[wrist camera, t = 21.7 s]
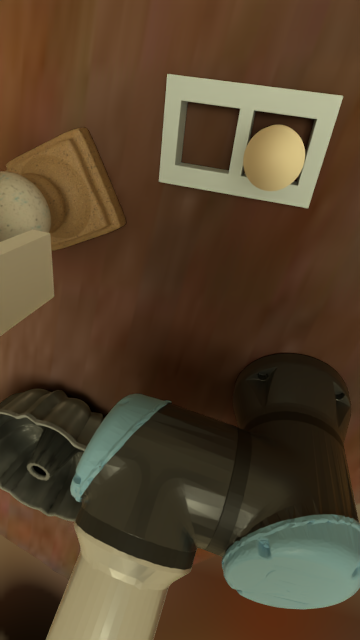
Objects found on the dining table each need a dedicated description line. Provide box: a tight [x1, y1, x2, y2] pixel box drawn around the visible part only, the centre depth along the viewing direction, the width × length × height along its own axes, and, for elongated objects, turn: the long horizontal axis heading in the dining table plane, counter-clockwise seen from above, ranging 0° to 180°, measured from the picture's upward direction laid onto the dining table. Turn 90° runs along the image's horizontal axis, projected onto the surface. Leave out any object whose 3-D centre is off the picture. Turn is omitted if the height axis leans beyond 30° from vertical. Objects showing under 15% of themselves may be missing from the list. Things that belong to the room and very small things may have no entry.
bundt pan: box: [0, 389, 103, 521], centre depth 60 cm, size 26×26×10 cm
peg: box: [243, 124, 305, 191], centre depth 28 cm, size 4×4×12 cm
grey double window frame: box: [159, 74, 343, 208], centre depth 32 cm, size 15×9×2 cm, turn 83°
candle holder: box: [0, 128, 126, 251], centre depth 30 cm, size 11×11×24 cm
